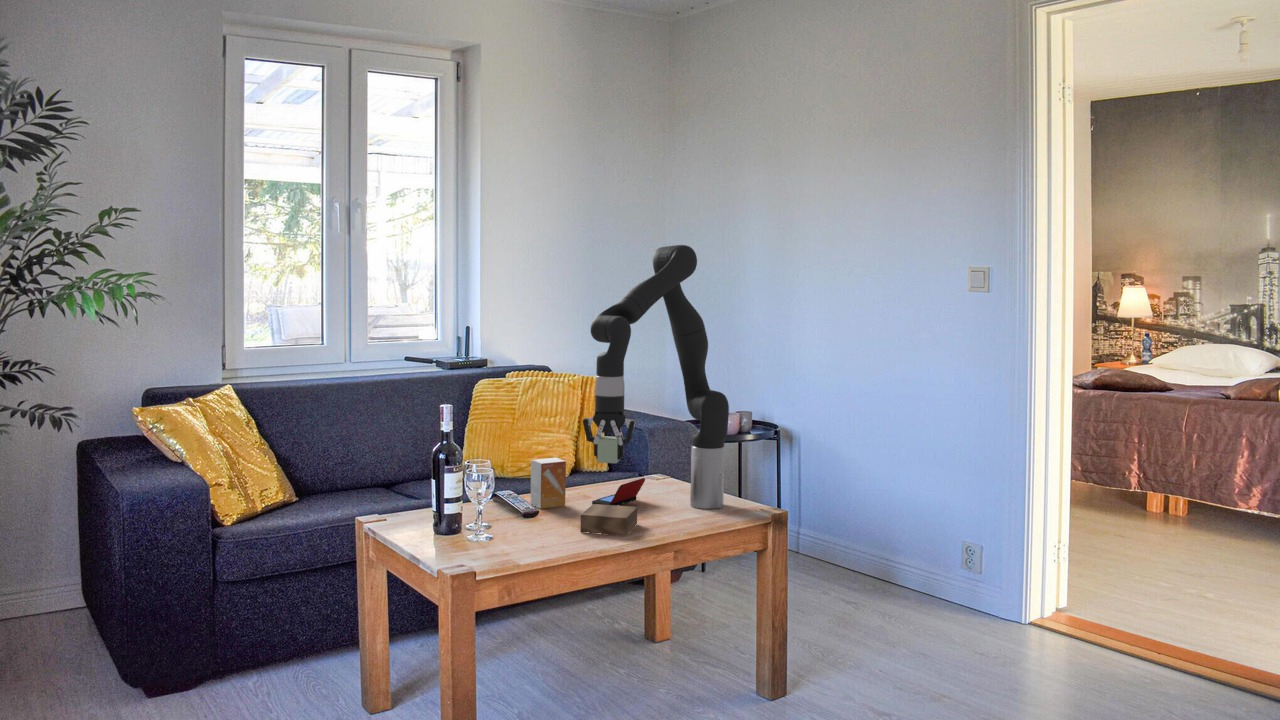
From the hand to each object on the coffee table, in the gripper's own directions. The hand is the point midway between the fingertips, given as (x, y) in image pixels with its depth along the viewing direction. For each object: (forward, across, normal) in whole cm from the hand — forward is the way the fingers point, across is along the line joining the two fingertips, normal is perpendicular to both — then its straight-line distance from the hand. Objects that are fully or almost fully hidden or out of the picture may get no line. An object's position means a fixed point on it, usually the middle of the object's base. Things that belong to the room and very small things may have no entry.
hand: (608, 458), depth 257 cm
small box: (+18, +21, -20) cm, 34 cm away
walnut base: (+19, 0, +1) cm, 19 cm away
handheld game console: (+19, +2, -27) cm, 33 cm away
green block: (+1, 0, 0) cm, 1 cm away
